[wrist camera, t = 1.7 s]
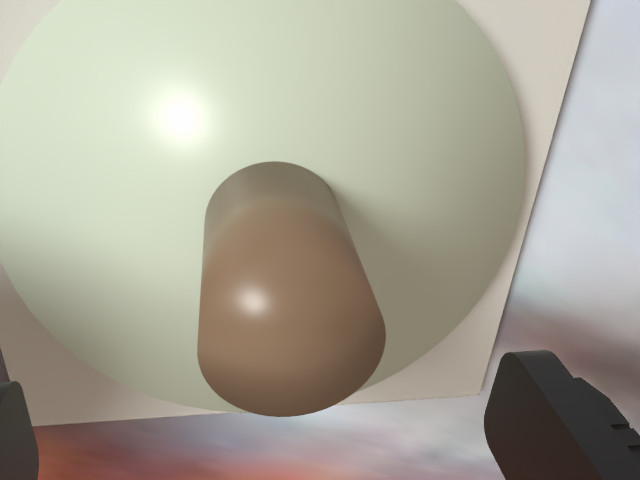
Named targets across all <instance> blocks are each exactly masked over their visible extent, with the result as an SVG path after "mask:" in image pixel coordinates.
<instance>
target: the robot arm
mask: <svg viewBox="0 0 640 480" xmlns="http://www.w3.org/2000/svg"><path fill="white" fill-rule="evenodd" d="M484 429H485V435H486V439H487V443H488V446H489V448H490V450H491V452H492V454H493V456H494V458H495V460H496V462H497V464H498V466H499V467H500V469H501V471H502V473H503V475H504V477H505V479H506V480H640V436H639V434H638V433H637V432H636V431H635V430H634V428H632V429H631V428H630V427H629V422H628V421H627V420H626V419H625V417H624V416H623V415H622V414H621V413H620V411H619V410H618V409H617V408H616V406H615V405H614V404H613V403H612V402H611V400H610V399H609V398H608V397H606V396H605V395H604V394H602V393H601V392H600V391H598V390H597V389H595V388H594V387H593V386H591V385H590V384H589V383H587V382H586V381H585V380H583V379H582V378H573V377H572V375H571V374H570V373H569V372H568V370H567V369H566V368H565V366H564V365H563V364H562V363H561V361H560V360H559V359H558V358H557V356H556V355H555V354H554V353H552V352H550V351H548V350H540V351H524V352H509V353H506V354H504V355H503V357H502V358H501V361H500V364H499V367H498V370H497V374H496V377H495V381H494V384H493V387H492V391H491V394H490V397H489V401H488V404H487V407H486V411H485V416H484ZM38 469H39V454H38V448H37V443H36V439H35V435H34V432H33V428H32V424H31V420H30V416H29V412H28V408H27V404H26V400H25V397H24V393H23V389H22V387H21V385H20V383H19V382H17V381H10V382H0V480H37V478H38Z"/></svg>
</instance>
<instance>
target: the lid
mask: <svg viewBox="0 0 640 480" xmlns="http://www.w3.org/2000/svg"><path fill="white" fill-rule="evenodd" d="M524 175H525V150H524V137H523V128H522V123H521V119H520V115H519V110H518V106H517V101H516V97H515V95H514V92H513V90H512V87H511V85H510V82H509V79H508V77H507V74H506V72H505V69H504V67H503V65H502V63H501V61H500V60H499V58H498V56H497V54H496V53H495V51H494V49H493V47H492V46H491V44H490V42H489V41H488V39H487V37H486V36H485V34H484V33H483V32H482V31H481V29H480V28H479V27H478V26H477V24H476V23H475V22H474V21H473V19H472V18H471V17H470V16H469V14H468V13H467V12H466V11H465V9H464V8H463V7H462V6H461V5H460V4H459V3H457V2H456V1H455V0H61V1H59V2H58V3H57V4H56V5H55V6H54V7H53V8H52V9H51V10H50V11H49V12H48V13H47V14H46V15H45V16H44V17H43V18H42V19H41V20H40V22H39V23H38V24H37V26H36V27H35V29H34V30H33V31H32V33H31V34H30V35H29V37H28V38H27V40H26V41H25V42H24V44H23V45H22V46H21V48H20V49H19V51H18V52H17V53H16V55H15V57H14V59H13V61H12V63H11V65H10V67H9V69H8V71H7V73H6V75H5V77H4V79H3V81H2V83H1V85H0V261H1V263H2V265H3V267H4V269H5V271H6V273H7V274H8V276H9V278H10V280H11V282H12V284H13V286H14V288H15V290H16V291H17V293H18V294H19V295H20V297H21V298H22V300H23V301H24V302H25V304H26V305H27V307H28V308H29V310H30V311H31V312H32V314H33V315H34V316H35V317H36V319H37V320H38V321H39V322H40V323H41V324H42V325H43V326H44V327H45V328H46V329H47V330H48V331H49V333H50V334H51V335H52V336H53V337H54V338H55V339H56V340H57V341H59V342H60V343H61V344H62V345H63V346H65V347H66V348H67V349H68V350H69V351H71V352H72V353H73V354H74V355H75V356H76V357H78V358H79V359H81V360H82V361H84V362H85V363H87V364H88V365H90V366H91V367H93V368H94V369H96V370H97V371H99V372H100V373H102V374H103V375H105V376H107V377H109V378H111V379H113V380H115V381H117V382H119V383H121V384H123V385H125V386H127V387H129V388H131V389H134V390H136V391H139V392H141V393H144V394H147V395H149V396H152V397H155V398H157V399H161V400H165V401H168V402H172V403H176V404H179V405H183V406H188V407H194V408H200V409H206V410H212V411H225V412H239V413H247V412H251V413H255V414H259V415H265V416H275V417H290V416H299V415H305V414H309V413H314V412H317V411H320V410H323V409H326V408H328V407H331V406H333V405H335V404H337V403H339V402H341V401H343V400H345V399H346V398H348V397H349V396H351V395H352V394H353V393H356V392H358V391H361V390H363V389H365V388H368V387H370V386H373V385H375V384H377V383H379V382H381V381H383V380H385V379H386V378H388V377H390V376H392V375H394V374H396V373H398V372H400V371H401V370H403V369H404V368H406V367H407V366H409V365H410V364H412V363H413V362H415V361H416V360H418V359H419V358H421V357H422V356H424V355H425V354H426V353H427V352H429V351H430V350H431V349H432V348H433V347H435V346H436V345H437V344H438V343H440V342H441V341H442V340H443V339H444V338H445V337H446V336H447V335H448V334H449V333H450V332H451V331H452V330H453V329H454V328H455V327H456V326H457V325H458V324H459V323H460V322H461V321H462V320H463V319H464V318H465V317H466V316H467V314H468V313H469V312H470V311H471V309H472V308H473V307H474V306H475V304H476V303H477V302H478V301H479V299H480V298H481V297H482V295H483V294H484V292H485V290H486V289H487V287H488V286H489V284H490V282H491V281H492V279H493V278H494V276H495V275H496V273H497V271H498V269H499V267H500V265H501V262H502V260H503V258H504V256H505V254H506V252H507V250H508V248H509V245H510V242H511V239H512V236H513V233H514V230H515V227H516V224H517V221H518V217H519V211H520V206H521V201H522V196H523V191H524Z"/></svg>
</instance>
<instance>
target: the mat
mask: <svg viewBox="0 0 640 480" xmlns="http://www.w3.org/2000/svg"><path fill="white" fill-rule="evenodd" d="M59 1H61V0H0V85H1V83H2V81H3V79H4V77H5V75H6V73H7V71H8V69H9V67H10V65H11V63H12V61H13V59H14V57H15V55H16V53H17V52H18V51H19V49H20V48H21V46H22V45H23V44H24V42H25V41H26V40H27V38H28V37H29V35H30V34H31V33H32V31H33V30H34V29H35V27H36V26H37V24H38V23H39V22H40V20H41V19H42V18H43V17H44V16H45V15H46V14H47V13H48V12H49V11H50V10H51V9H52V8H53V7H54V6H55V5H56V4H57V3H58V2H59ZM455 1H456V2H457V3H459V4H460V5H461V6H462V7H463V8H464V9H465V11H466V12H467V13H468V14H469V16H470V17H471V18H472V19H473V21H474V22H475V23H476V24H477V26H478V27H479V28H480V29H481V31H482V32H483V33H484V34H485V36H486V37H487V39H488V41H489V42H490V44H491V46H492V47H493V49H494V51H495V53H496V54H497V56H498V58H499V60H500V61H501V63H502V65H503V67H504V69H505V72H506V74H507V77H508V79H509V82H510V85H511V87H512V90H513V92H514V95H515V97H516V101H517V106H518V110H519V115H520V119H521V123H522V128H523V137H524V150H525V175H524V191H523V196H522V201H521V206H520V211H519V217H518V221H517V224H516V227H515V230H514V233H513V236H512V239H511V242H510V245H509V248H508V250H507V252H506V254H505V256H504V258H503V260H502V262H501V265H500V267H499V269H498V271H497V273H496V275H495V276H494V278H493V279H492V281H491V282H490V284H489V286H488V287H487V289H486V290H485V292H484V294H483V295H482V297H481V298H480V299H479V301H478V302H477V303H476V304H475V306H474V307H473V308H472V309H471V311H470V312H469V313H468V314H467V316H466V317H465V318H464V319H463V320H462V321H461V322H460V323H459V324H458V325H457V326H456V327H455V328H454V329H453V330H452V331H451V332H450V333H449V334H448V335H447V336H446V337H445V338H444V339H443V340H442V341H441V342H440V343H438V344H437V345H436V346H435V347H433V348H432V349H431V350H430V351H429V352H427V353H426V354H425V355H424V356H422V357H421V358H419V359H418V360H416V361H415V362H413V363H412V364H410V365H409V366H407V367H406V368H404V369H403V370H401V371H400V372H398V373H396V374H394V375H392V376H390V377H388V378H386V379H385V380H383V381H381V382H379V383H377V384H375V385H373V386H370V387H368V388H365V389H363V390H361V391H358V392H356V393H353V394H352V395H351V396H349V397H348V398H346V399H345V400H343V401H341V402H339V403H337V404H335V405H345V404H359V403H373V402H387V401H402V400H416V399H430V398H444V397H459V396H473V395H479V394H480V391H481V387H482V384H483V380H484V377H485V373H486V370H487V366H488V362H489V359H490V355H491V352H492V348H493V345H494V341H495V338H496V334H497V331H498V327H499V324H500V320H501V316H502V313H503V309H504V306H505V302H506V299H507V295H508V292H509V288H510V285H511V281H512V278H513V274H514V270H515V267H516V263H517V260H518V256H519V253H520V249H521V246H522V242H523V239H524V235H525V232H526V228H527V224H528V221H529V217H530V214H531V210H532V207H533V203H534V200H535V196H536V193H537V189H538V186H539V182H540V178H541V175H542V171H543V168H544V164H545V161H546V157H547V154H548V150H549V147H550V143H551V140H552V136H553V132H554V129H555V125H556V122H557V118H558V115H559V111H560V108H561V104H562V101H563V97H564V94H565V90H566V86H567V83H568V79H569V76H570V72H571V69H572V65H573V62H574V58H575V55H576V51H577V48H578V44H579V40H580V37H581V33H582V30H583V26H584V23H585V19H586V16H587V12H588V9H589V5H590V1H591V0H455ZM0 348H1V351H2V355H3V358H4V362H5V365H6V369H7V372H8V376H9V379H10V381H17V382H19V383H20V385H21V387H22V389H23V393H24V397H25V400H26V404H27V408H28V412H29V416H30V420H31V424H32V426H46V425H60V424H74V423H88V422H103V421H117V420H131V419H145V418H160V417H174V416H188V415H202V414H216V413H231V412H225V411H212V410H206V409H200V408H194V407H188V406H183V405H179V404H176V403H172V402H168V401H165V400H161V399H157V398H155V397H152V396H149V395H147V394H144V393H141V392H139V391H136V390H134V389H131V388H129V387H127V386H125V385H123V384H121V383H119V382H117V381H115V380H113V379H111V378H109V377H107V376H105V375H103V374H102V373H100V372H99V371H97V370H96V369H94V368H93V367H91V366H90V365H88V364H87V363H85V362H84V361H82V360H81V359H79V358H78V357H76V356H75V355H74V354H73V353H72V352H71V351H69V350H68V349H67V348H66V347H65V346H63V345H62V344H61V343H60V342H59V341H57V340H56V339H55V338H54V337H53V336H52V335H51V334H50V333H49V331H48V330H47V329H46V328H45V327H44V326H43V325H42V324H41V323H40V322H39V321H38V320H37V319H36V317H35V316H34V315H33V314H32V312H31V311H30V310H29V308H28V307H27V305H26V304H25V302H24V301H23V300H22V298H21V297H20V295H19V294H18V293H17V291H16V290H15V288H14V286H13V284H12V282H11V280H10V278H9V276H8V274H7V273H6V271H5V269H4V267H3V265H2V263H1V261H0Z"/></svg>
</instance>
